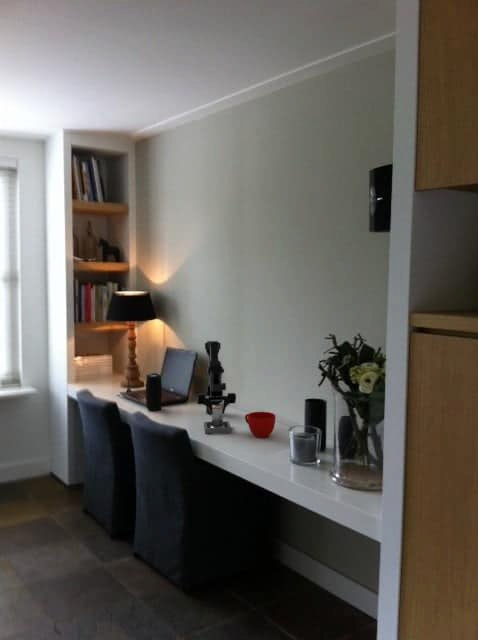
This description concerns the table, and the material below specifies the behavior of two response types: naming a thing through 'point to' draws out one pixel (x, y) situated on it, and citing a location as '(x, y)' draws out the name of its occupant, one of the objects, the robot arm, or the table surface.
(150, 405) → the portable speaker
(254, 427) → the ceramic cup
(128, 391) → the eiffel tower figurine
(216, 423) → the grey cylinder
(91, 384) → the table surface
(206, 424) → the duct collar
